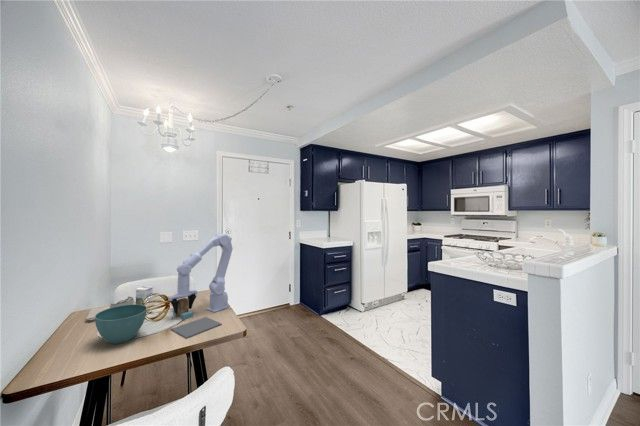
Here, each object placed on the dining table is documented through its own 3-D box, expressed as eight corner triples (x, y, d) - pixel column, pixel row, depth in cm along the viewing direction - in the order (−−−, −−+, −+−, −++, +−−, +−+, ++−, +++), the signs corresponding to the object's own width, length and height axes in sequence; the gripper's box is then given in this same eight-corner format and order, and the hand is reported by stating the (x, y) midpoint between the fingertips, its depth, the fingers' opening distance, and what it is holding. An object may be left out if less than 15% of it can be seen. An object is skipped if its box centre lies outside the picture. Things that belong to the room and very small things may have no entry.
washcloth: (85, 324, 128) (85, 318, 128) (89, 312, 142) (89, 307, 142) (115, 319, 135) (115, 313, 135) (116, 308, 149) (116, 303, 149)
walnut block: (184, 314, 142) (185, 297, 142) (188, 315, 140) (188, 299, 140) (177, 316, 139) (177, 299, 139) (181, 318, 137) (181, 301, 137)
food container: (121, 324, 127) (122, 304, 127) (109, 324, 127) (109, 304, 127) (139, 314, 140) (140, 296, 140) (128, 314, 140) (128, 296, 140)
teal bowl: (150, 327, 125) (151, 302, 125) (139, 345, 108) (140, 316, 108) (104, 333, 118) (105, 306, 118) (85, 353, 101) (86, 322, 101)
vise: (176, 309, 148) (176, 305, 148) (192, 317, 138) (193, 312, 138) (166, 312, 144) (166, 308, 144) (182, 320, 134) (182, 315, 134)
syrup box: (152, 311, 144) (153, 286, 144) (144, 316, 138) (145, 289, 138) (143, 311, 145) (143, 285, 145) (134, 315, 139) (135, 288, 139)
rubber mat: (205, 317, 138) (205, 316, 138) (221, 324, 130) (221, 323, 130) (170, 330, 123) (170, 328, 123) (186, 338, 115) (186, 337, 115)
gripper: (192, 281, 148) (192, 305, 148) (165, 287, 136) (165, 313, 136) (199, 283, 144) (198, 307, 144) (172, 289, 132) (171, 316, 132)
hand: (183, 310), depth 139 cm, fingers open, 7 cm apart
